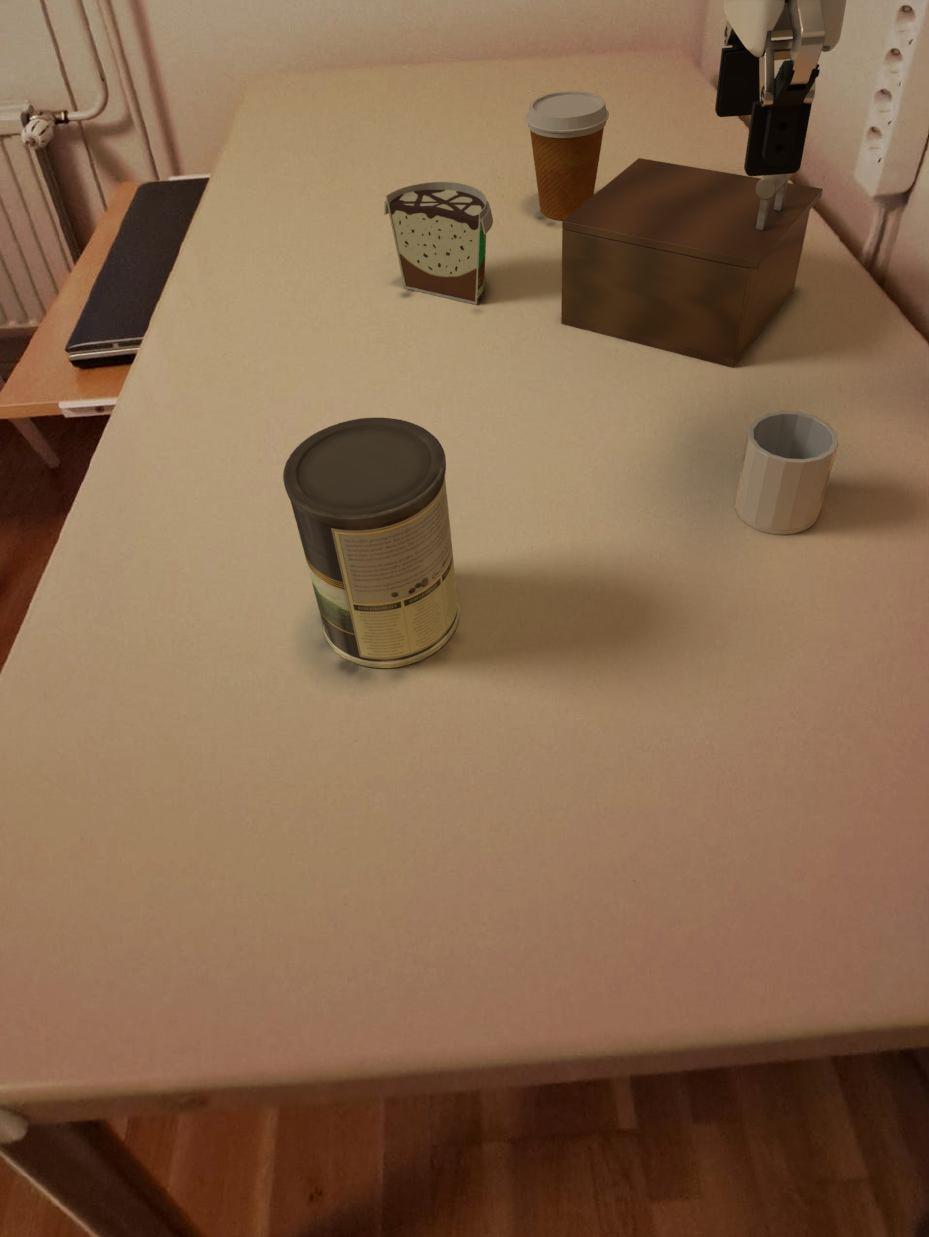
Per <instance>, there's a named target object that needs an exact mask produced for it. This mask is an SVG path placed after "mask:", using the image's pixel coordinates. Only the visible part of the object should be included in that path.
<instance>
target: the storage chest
mask: <svg viewBox="0 0 929 1237" xmlns="http://www.w3.org/2000/svg"><path fill="white" fill-rule="evenodd" d="M810 212H811V209H810V210H809V211H808V213H807V214H806V215H805V216H804V217H803V218H802V220H801V221H800V222H799V223H798V224H797V225H796V227H795V228H794V229H793V230H792V231H791V232H790V234H789V235H788V236H787V237H786V238H785V239H784V240H783V242H782V243H781V244H780V245H779V246H778V247H777V249H776V250H775V251H774V252H773V253H772V254H771V256H770V257H769V258H768V259H767V260H766V261H765V263H764V264H763V265H762V266H761V267H760V268H759V269H758V270H756V269H751V268H746V267H741V266H737V265H732V264H727V263H722V262H718V261H713V260H708V259H703V258H698V257H694V256H689V255H684V254H679V253H674V252H670V251H665V250H660V249H655V248H651V247H646V246H641V245H636V244H631V243H627V242H622V241H617V240H612V239H608V238H603V237H598V236H593V235H588V234H584V233H579V232H574V231H569V230H564V229H562V230H561V238H562V239H561V312H560V313H561V316H560V317H561V318H560V323H561V324H563V325H567V326H570V327H574V328H578V329H582V330H586V331H590V332H594V333H597V334H601V335H605V336H609V337H613V338H617V339H621V340H624V341H628V342H633V343H636V344H640V345H643V346H649V347H652V348H655V349H660V350H664V351H667V352H671V353H676V354H679V355H684V356H688V357H691V358H695V359H698V360H702V361H706V362H711V363H713V364H717V365H723V366H725V367H726V366H727V367H730V368H734V367H735V366H736V365H737V364H738V362H739V361H740V359H741V358H742V357H743V356H744V354H745V353H746V352H747V351H748V350H749V348H750V347H751V346H752V345H753V343H754V342H755V341H756V340H757V338H758V337H759V336H760V334H761V333H762V332H763V331H764V329H765V328H766V327H767V326H768V325H769V323H770V322H771V320H772V319H773V318H774V316H776V314H777V313H778V311H779V310H780V309H781V308H782V306H783V305H784V304H785V303H786V301H788V299H789V297H790V296H791V295H792V294H793V293H794V291H795V288H796V282H797V277H798V273H799V268H800V263H801V257H802V253H803V248H804V243H805V238H806V233H807V226H808V222H809V217H810Z"/></svg>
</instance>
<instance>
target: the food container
mask: <svg viewBox="0 0 929 1237" xmlns="http://www.w3.org/2000/svg"><path fill="white" fill-rule="evenodd" d="M385 199H386V200H385V201H384V208H383V209H384V210H383V212H384V214H383V215H384V216H386V215H388V216H389V220H390V224H391V225H390V226H391V230H392V236H393V240H394V246H395V249H396V254H397V260H398V264H399V269H400V274H401V278H402V283H403V288H404V289H406V290H410V291H414V292H418V293H424V294H428V295H432V296H437V297H440V298H445V299H449V300H453V301H457V302H458V301H459V302H463V303H467V304H471V305H476V306H478V305H479V303H480V302H482V300H483V297H484V294H485V277H486V276H485V275H486V274H485V272H486V253H487V252H486V251H487V250H486V249H487V248H486V247H487V233H488V232H489V231H490V230H491V228H492V227H493V224H494V218H493V213H492V209H491V205H490V203H489V201H488V199H487V197H486V195H485V193H483V191H481V190H480V189H479V188H476V187H474V186H471V185H469V184H465V183H461V182H453V181H427V182H422V183H415V184H412V185H408V186H404V187H401V188H398V189H396V190H394V191H391V192H390V193H388V194H387V195H385Z"/></svg>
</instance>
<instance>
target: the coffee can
mask: <svg viewBox="0 0 929 1237" xmlns="http://www.w3.org/2000/svg"><path fill="white" fill-rule="evenodd" d="M446 471H447V460H446V453H445V450H444V447H443V446H442V443H440V440H438V439H437V438H436V436H435V435H434V434H432V433H431V432H430V431H429V430H427V429H426V428H424V427H422V426H420V425H418V424H415V423H413V422H411V421H408V420H404V419H398V418H390V417H361V418H356V419H350V420H347V421H342V422H338V423H336V424H333V425H330V426H328V427H325V428H323V429H321V430H318V431H317V432H315V433H313V434H311V435H309V436H308V437H306V438H305V439H304V440H303V441H302V442H300V443H299V444H298V446H296V447H295V449H293V451H292V452H291V453H290V455H289V457H288V458H287V460H286V462H285V465H284V467H283V472H282V473H283V474H282V479H283V480H282V481H283V485H284V488H285V492H286V494H287V497H288V499H289V500H290V505H291V509H292V513H293V516H294V519H295V522H296V527H297V530H298V536H299V539H300V541H301V542H300V543H301V545H302V549H303V553H304V557H305V560H306V565H307V569H308V572H309V577H310V580H311V584H312V588H313V592H314V596H315V599H316V604H317V608H318V610H319V615H320V619H321V623H322V625H321V626H322V632H323V635H324V637H325V640H326V642H327V643H328V645H329V646H330V647H331V649H332V650H333V651H334V652H336V654H338V655H339V656H341V658H343V659H345V660H347V661H349V662H351V663H353V664H356V665H360V666H363V667H366V668H375V669H390V668H391V669H392V668H398V667H400V668H401V667H403V666H408V665H412V664H414V663H418V662H421V661H423V660H425V659H426V658H428V657H430V656H432V655H433V654H435V653H436V652H438V651H439V650H440V649H441V648H443V646H444V645H446V644H447V642H448V641H449V640H450V639H451V637H452V636H453V634H454V632H455V630H456V629H457V627H458V624H459V621H460V602H459V600H458V592H457V591H458V590H457V583H456V582H457V581H456V573H455V563H454V553H453V552H454V551H453V542H452V532H451V522H450V521H451V520H450V513H449V502H448V492H447V484H446V483H447V482H446Z"/></svg>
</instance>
